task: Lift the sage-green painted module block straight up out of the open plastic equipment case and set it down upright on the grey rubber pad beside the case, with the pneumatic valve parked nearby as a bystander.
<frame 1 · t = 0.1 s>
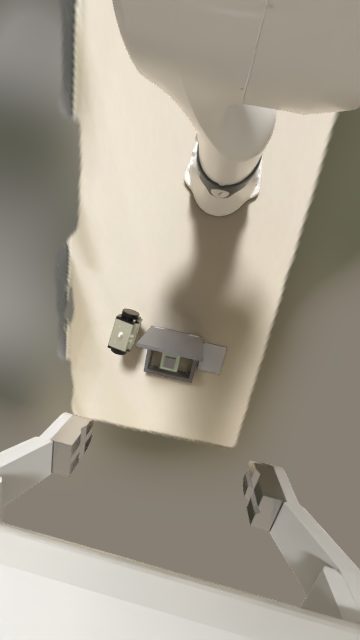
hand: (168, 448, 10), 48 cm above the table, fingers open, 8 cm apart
module: (173, 352, 60), resting in case
pneumatic valve: (135, 324, 60), on the table
pad: (211, 358, 60), on the table
case: (173, 352, 60), on the table
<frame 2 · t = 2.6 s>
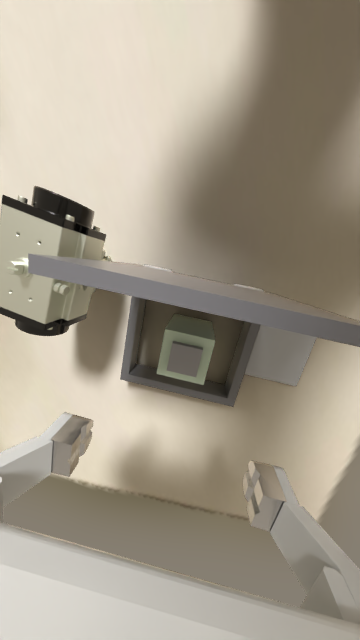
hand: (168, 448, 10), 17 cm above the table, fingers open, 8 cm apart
module: (188, 335, 26), resting in case
pneumatic valve: (101, 270, 25), on the table
pad: (280, 348, 25), on the table
case: (188, 335, 26), on the table
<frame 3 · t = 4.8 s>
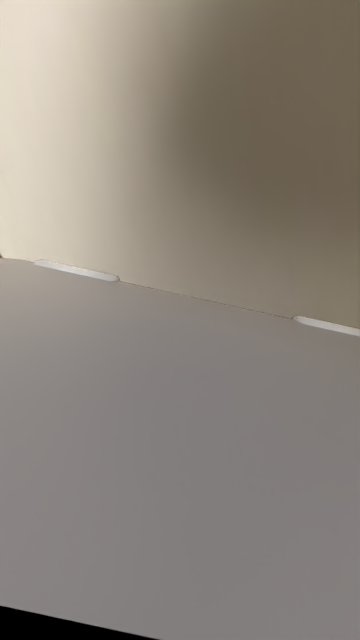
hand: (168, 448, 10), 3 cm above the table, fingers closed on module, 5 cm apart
case: (174, 413, 12), on the table
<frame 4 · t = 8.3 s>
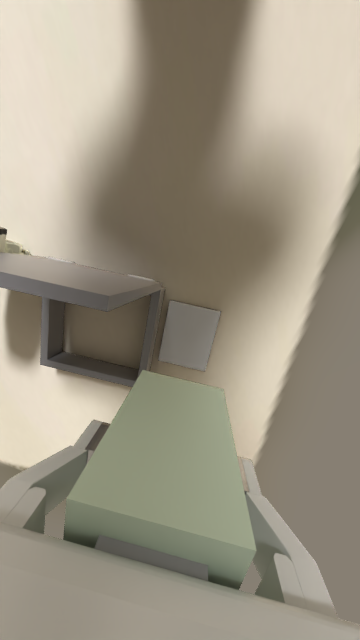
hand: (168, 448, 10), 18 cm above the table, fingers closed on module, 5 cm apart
module: (174, 413, 12), point 16 cm above the table, touching gripper
pneumatic valve: (24, 263, 28), on the table
pad: (188, 336, 27), on the table
case: (106, 324, 28), on the table
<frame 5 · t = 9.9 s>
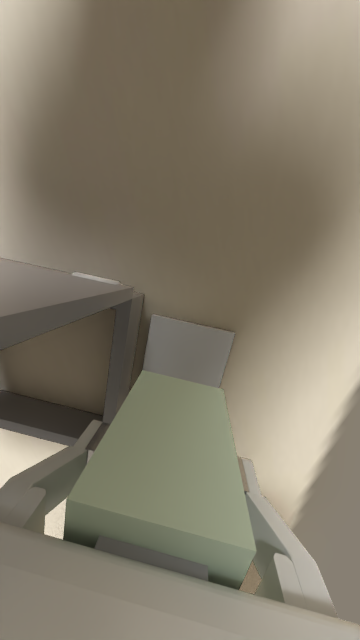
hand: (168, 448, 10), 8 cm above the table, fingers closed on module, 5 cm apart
module: (174, 413, 12), point 5 cm above the table, touching gripper
pad: (182, 370, 17), on the table
case: (55, 350, 18), on the table
when the fingers open (4 cm above the table, at t = 11.6 s): module stays where it is, resting on pad.
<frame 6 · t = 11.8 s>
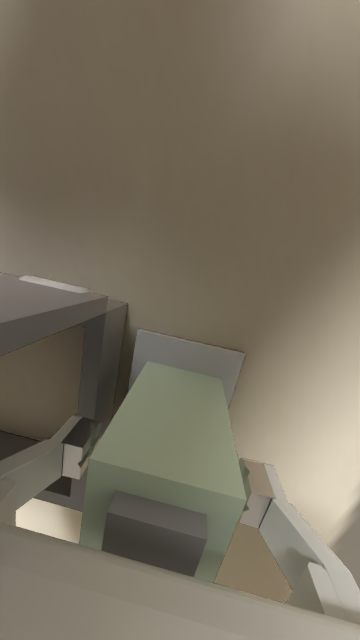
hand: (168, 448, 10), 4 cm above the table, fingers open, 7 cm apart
module: (176, 401, 13), resting on pad
pad: (177, 398, 14), on the table
case: (18, 372, 15), on the table
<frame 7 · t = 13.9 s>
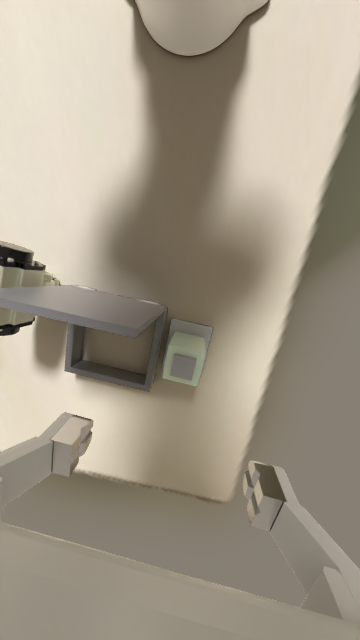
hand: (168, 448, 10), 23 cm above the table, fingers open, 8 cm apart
module: (186, 348, 33), resting on pad
pneumatic valve: (52, 288, 34), on the table
pad: (186, 347, 33), on the table
case: (119, 337, 34), on the table
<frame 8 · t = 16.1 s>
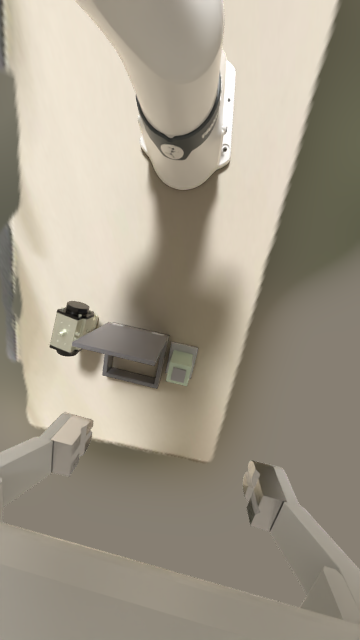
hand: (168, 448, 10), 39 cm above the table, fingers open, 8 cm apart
module: (181, 360, 51), resting on pad
pneumatic valve: (93, 321, 51), on the table
pad: (181, 360, 51), on the table
case: (137, 353, 52), on the table
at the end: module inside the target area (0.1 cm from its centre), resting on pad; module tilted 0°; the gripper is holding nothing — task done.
